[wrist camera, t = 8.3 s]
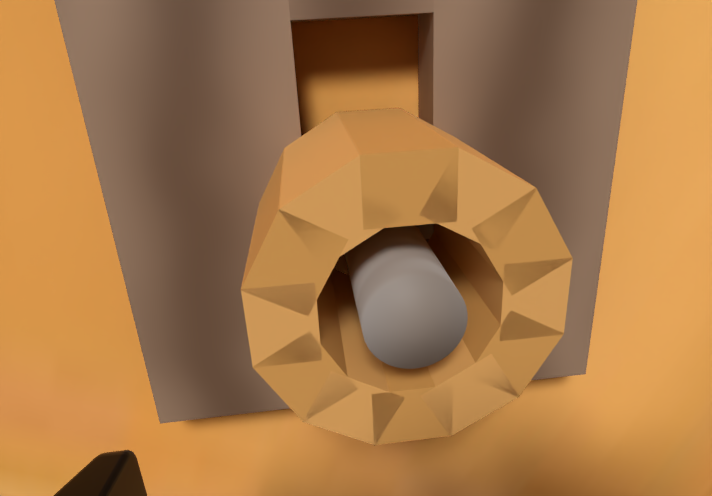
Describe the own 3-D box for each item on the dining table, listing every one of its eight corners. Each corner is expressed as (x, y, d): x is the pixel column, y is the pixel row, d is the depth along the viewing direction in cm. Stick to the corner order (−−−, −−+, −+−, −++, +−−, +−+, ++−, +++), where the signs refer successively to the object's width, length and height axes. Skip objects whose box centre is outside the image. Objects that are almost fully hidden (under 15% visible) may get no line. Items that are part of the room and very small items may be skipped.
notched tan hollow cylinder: (483, 101, 16) (587, 137, 10) (475, 307, 18) (553, 423, 13) (248, 117, 15) (221, 165, 10) (275, 327, 18) (266, 458, 12)
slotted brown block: (603, -30, 16) (883, -91, 9) (561, 345, 22) (710, 518, 14) (81, -4, 15) (-146, -47, 7) (172, 388, 20) (96, 605, 13)
